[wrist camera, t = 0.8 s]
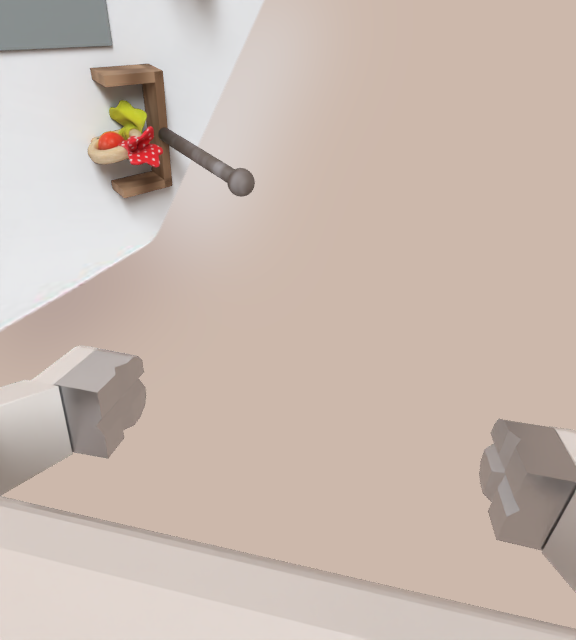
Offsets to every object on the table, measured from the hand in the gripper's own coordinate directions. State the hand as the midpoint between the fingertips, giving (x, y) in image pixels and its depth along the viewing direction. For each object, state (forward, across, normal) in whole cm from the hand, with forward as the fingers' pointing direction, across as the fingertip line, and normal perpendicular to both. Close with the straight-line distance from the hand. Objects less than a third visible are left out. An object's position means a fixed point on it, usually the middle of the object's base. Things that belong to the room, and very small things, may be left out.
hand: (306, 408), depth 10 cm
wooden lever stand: (+51, -32, +2) cm, 60 cm away
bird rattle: (+48, -34, +1) cm, 59 cm away
